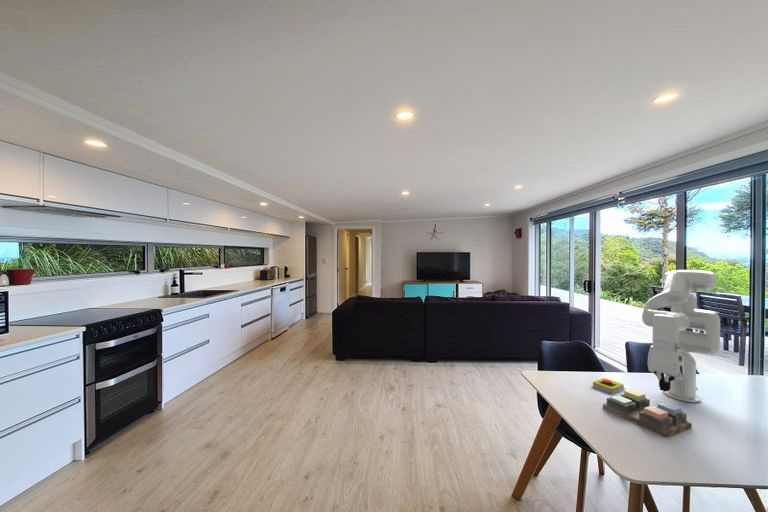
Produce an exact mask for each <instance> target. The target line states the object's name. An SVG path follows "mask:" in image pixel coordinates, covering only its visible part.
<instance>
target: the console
mask: <svg viewBox="0 0 768 512" xmlns="http://www.w3.org/2000/svg"><path fill="white" fill-rule="evenodd" d="M619 396H622V397H624V398H627V399H629V400H632V403H631V404H628V405H623V404H620V403H618V402H616V401H613V400H611V397H612V396H611V397H606V402H605V403H602V409H604V410H606V411H608V412H610V413H612V414H614V415H617V416H619V417H621V418H623V419H625V420H627V421H629V422H631V423H634V424H636V425H638V426H640V427H643V428H644V429H647V430H648V429H649V431H650V432H652V433H653V432H654V433H655V434H657V435H660V436H662V437H664V438H668V437H672V436H674V435H677V434H679V433H683V432H685V431H687V430H689V429H692V425H693V424H692V422H690V421H687V413H686V412H683V411H682V414H680V415H677V416H673V415H671V414H668V419H665V420H662V421H660V420H658V419H656V418H653V417H651V416H649V415H646V414H644V408H645V407H649V406H651V405H650V404H651V403H650V402H651V401H650V399H649V398H646V397H645V400H642V401H636V400H634V399H631V398H629V397H626V396H624V393H622V394H620V395H619ZM656 407H657V408H658V406H656Z"/></svg>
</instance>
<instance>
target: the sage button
mask: <svg viewBox="0 0 768 512" xmlns="http://www.w3.org/2000/svg"><path fill="white" fill-rule="evenodd" d="M611 400H613V401H616V402H618V403H620V404H623V405H628V404H631V403H632V400H629V399H627V398H624V397H622V396H620V395H619V394H618V395H614V396H611Z"/></svg>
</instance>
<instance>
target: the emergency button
mask: <svg viewBox="0 0 768 512" xmlns="http://www.w3.org/2000/svg"><path fill="white" fill-rule="evenodd" d="M592 388H593V390H594V391H598V392H600V393H604V394H606V395H608V396H609V395H610V396H613V395H614V396H615V395H616V394H619V393H621V392H623V391H626V390H627V388H625V385H624V384H623V383H621V382H618V381H615V380H612V379H609V378H606V377H605V378H600V379H598V380H595V381H593V382H592V386H591V387H590V389H592Z"/></svg>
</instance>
